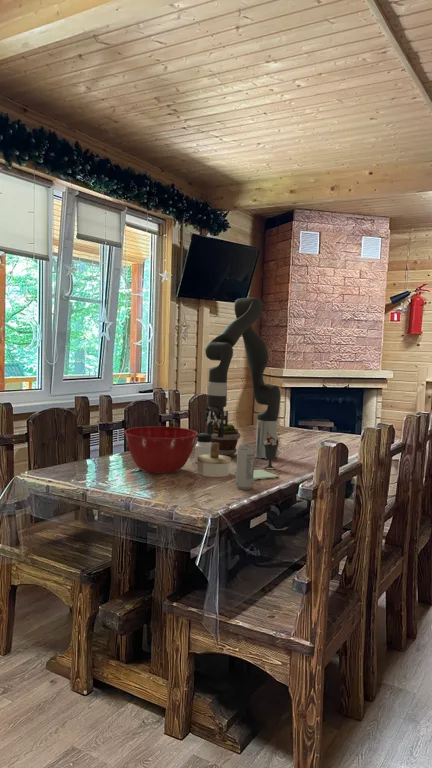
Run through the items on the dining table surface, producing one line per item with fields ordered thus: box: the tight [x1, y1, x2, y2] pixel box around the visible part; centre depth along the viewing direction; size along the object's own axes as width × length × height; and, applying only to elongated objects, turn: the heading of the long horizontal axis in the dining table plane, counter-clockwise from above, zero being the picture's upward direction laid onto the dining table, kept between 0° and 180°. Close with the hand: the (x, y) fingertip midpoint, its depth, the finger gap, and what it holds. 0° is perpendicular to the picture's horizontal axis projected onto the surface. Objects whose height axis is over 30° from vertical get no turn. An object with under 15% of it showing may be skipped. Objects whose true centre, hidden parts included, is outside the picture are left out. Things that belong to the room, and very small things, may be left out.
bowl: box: [196, 461, 232, 478], centre depth 214 cm, size 12×12×5 cm
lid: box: [198, 443, 232, 464], centre depth 213 cm, size 13×13×7 cm
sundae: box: [263, 433, 280, 468], centre depth 227 cm, size 7×7×15 cm
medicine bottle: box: [194, 432, 212, 464], centre depth 236 cm, size 7×7×12 cm
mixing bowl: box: [123, 425, 199, 475], centre depth 214 cm, size 28×28×16 cm
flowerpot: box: [211, 421, 242, 457], centre depth 253 cm, size 14×15×20 cm
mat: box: [235, 469, 280, 481], centre depth 213 cm, size 12×12×1 cm
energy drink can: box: [235, 443, 256, 491], centre depth 192 cm, size 6×6×15 cm
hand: (215, 435), depth 213 cm, fingers open, 8 cm apart
